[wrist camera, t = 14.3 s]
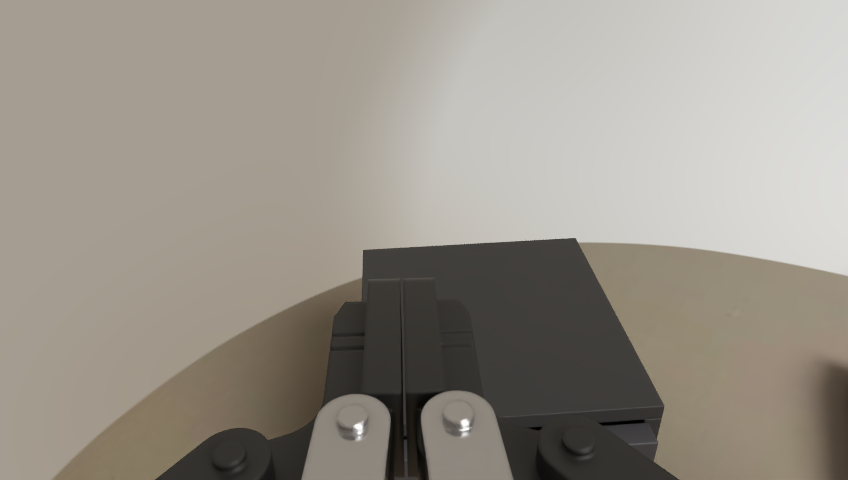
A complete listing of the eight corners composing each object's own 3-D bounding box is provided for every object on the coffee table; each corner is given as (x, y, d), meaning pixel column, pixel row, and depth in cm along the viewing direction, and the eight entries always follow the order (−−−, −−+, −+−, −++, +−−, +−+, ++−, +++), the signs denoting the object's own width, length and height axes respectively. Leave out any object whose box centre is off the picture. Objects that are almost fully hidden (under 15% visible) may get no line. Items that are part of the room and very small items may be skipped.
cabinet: (633, 538, 33) (665, 406, 28) (372, 558, 32) (358, 427, 28) (562, 352, 46) (575, 237, 41) (373, 364, 45) (363, 249, 40)
